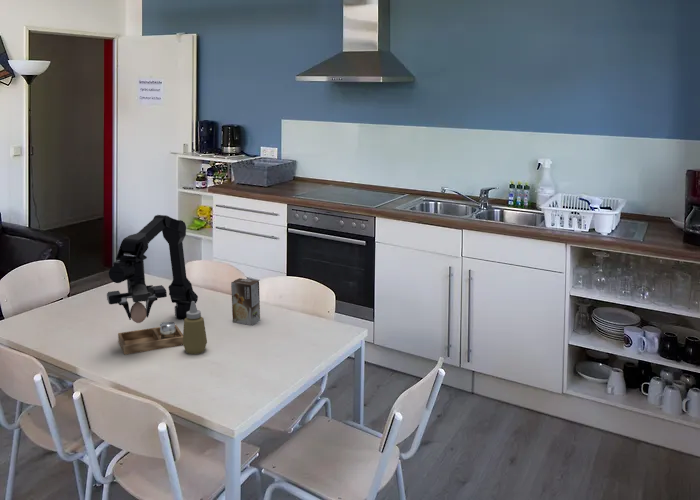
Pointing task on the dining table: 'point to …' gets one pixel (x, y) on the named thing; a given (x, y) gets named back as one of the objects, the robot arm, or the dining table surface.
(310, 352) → the dining table surface
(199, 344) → the squeeze bottle
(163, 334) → the tin
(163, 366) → the dining table surface
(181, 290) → the robot arm
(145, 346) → the crate
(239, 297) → the coffee box
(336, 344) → the dining table surface
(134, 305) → the egg
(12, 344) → the dining table surface
